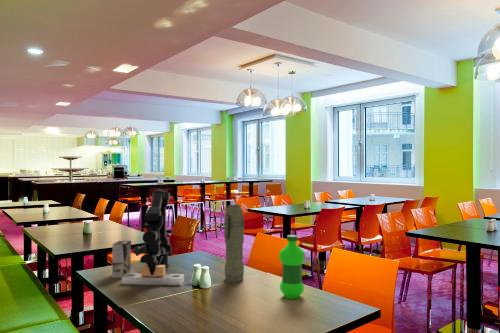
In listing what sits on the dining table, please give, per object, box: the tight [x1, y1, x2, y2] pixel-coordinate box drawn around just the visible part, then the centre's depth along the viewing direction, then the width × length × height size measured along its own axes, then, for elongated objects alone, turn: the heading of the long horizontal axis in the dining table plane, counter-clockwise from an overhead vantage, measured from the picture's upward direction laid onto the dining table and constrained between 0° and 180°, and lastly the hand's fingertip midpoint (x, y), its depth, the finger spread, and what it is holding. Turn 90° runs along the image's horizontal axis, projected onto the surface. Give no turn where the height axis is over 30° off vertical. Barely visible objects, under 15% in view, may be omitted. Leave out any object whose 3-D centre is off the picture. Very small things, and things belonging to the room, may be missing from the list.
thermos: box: [223, 204, 245, 284], centre depth 185 cm, size 9×12×35 cm
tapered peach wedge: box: [140, 264, 167, 277], centre depth 182 cm, size 10×4×6 cm, turn 86°
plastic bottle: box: [278, 234, 306, 300], centre depth 163 cm, size 10×10×25 cm
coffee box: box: [111, 240, 132, 279], centre depth 192 cm, size 9×6×16 cm
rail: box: [121, 272, 185, 286], centre depth 182 cm, size 7×27×3 cm, turn 86°
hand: (153, 273), depth 182 cm, fingers closed on tapered peach wedge, 4 cm apart
